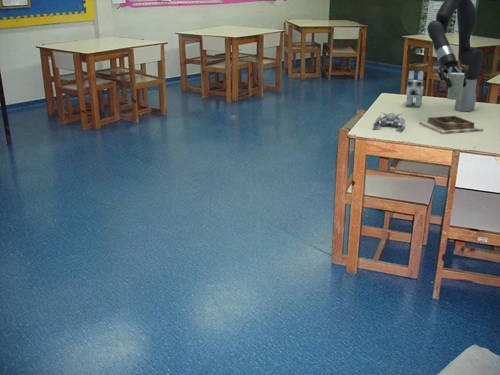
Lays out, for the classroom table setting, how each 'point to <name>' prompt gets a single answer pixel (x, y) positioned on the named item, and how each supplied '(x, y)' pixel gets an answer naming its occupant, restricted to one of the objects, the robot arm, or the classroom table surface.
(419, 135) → the classroom table surface
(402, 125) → the spaceship toy
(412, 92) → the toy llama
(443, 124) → the holder
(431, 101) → the classroom table surface
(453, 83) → the skincare box
